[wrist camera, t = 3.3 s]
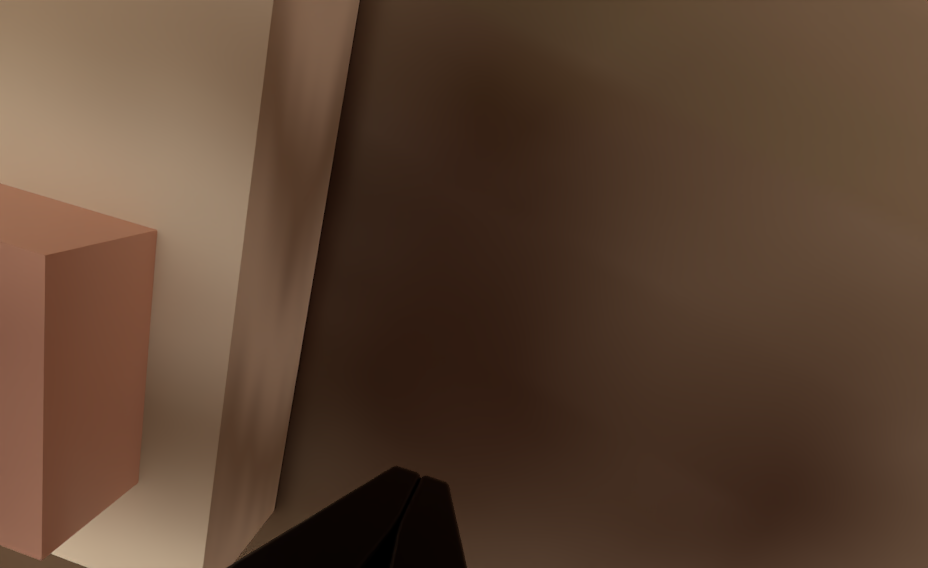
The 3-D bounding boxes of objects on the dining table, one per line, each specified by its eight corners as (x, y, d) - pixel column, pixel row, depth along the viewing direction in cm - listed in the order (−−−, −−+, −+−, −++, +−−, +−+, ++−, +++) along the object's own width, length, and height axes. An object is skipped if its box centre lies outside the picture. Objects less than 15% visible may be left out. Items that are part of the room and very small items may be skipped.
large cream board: (274, 510, 14) (198, 608, 11) (-127, 370, 15) (-290, 425, 12) (461, -603, 8) (401, -1026, 5) (-225, -682, 9) (-586, -1055, 6)
